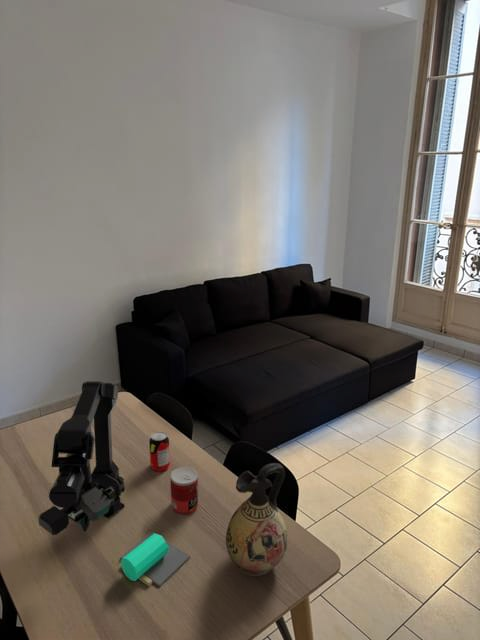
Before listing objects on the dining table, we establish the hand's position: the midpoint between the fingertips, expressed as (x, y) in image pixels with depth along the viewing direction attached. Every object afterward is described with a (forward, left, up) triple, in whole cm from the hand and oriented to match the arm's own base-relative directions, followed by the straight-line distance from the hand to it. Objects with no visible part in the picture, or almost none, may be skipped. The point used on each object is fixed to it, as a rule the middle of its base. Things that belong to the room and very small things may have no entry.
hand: (84, 531), depth 115 cm
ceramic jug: (+32, +28, -13) cm, 45 cm away
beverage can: (-16, +41, -13) cm, 46 cm away
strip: (+10, +6, -13) cm, 18 cm away
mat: (+10, +13, -13) cm, 21 cm away
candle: (+10, +4, -9) cm, 14 cm away
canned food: (+3, +32, -13) cm, 35 cm away
